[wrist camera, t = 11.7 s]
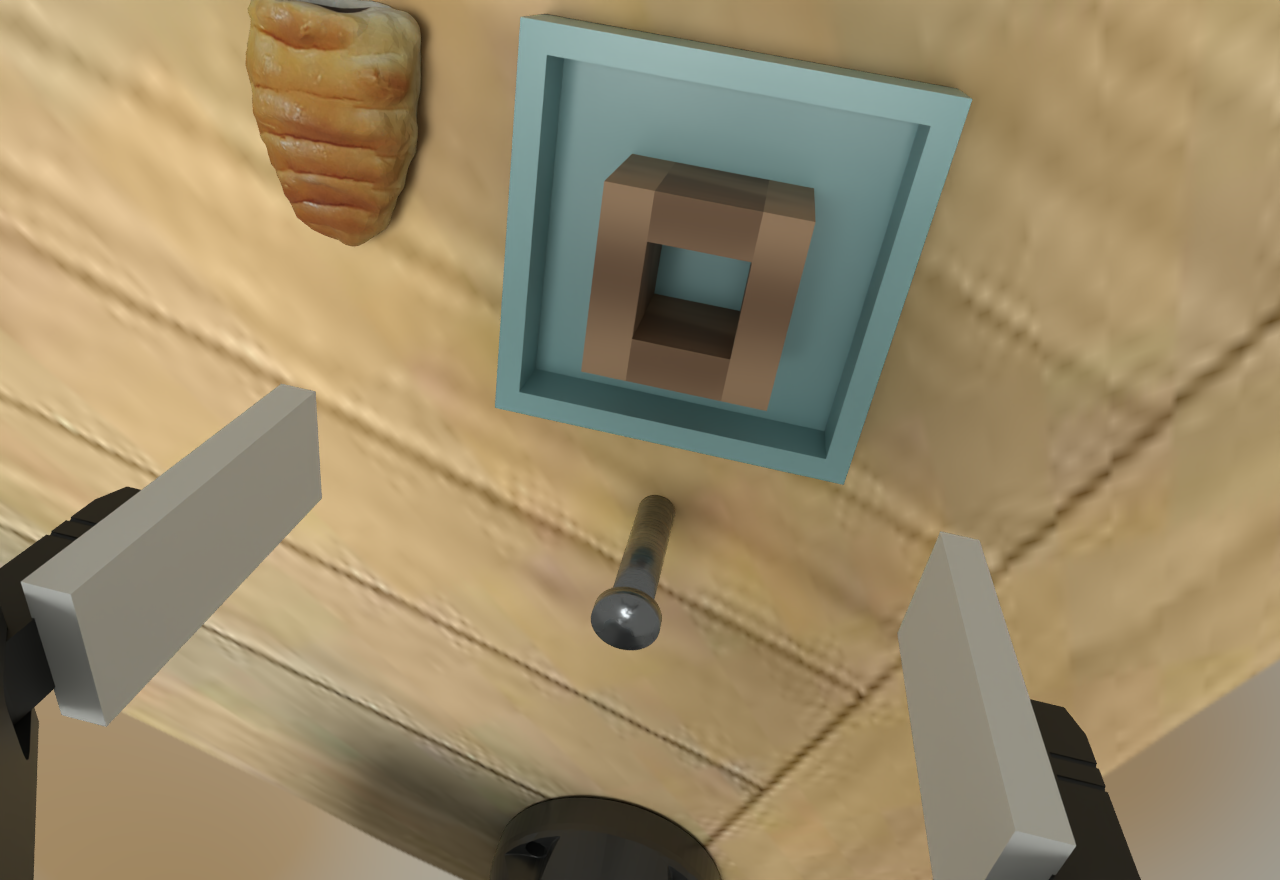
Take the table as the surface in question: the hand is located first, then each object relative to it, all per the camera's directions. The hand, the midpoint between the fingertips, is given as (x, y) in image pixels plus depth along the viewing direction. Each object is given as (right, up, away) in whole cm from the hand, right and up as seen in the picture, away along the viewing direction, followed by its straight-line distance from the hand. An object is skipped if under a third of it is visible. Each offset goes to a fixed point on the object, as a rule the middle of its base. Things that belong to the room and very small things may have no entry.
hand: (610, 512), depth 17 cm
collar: (+3, +9, +15) cm, 18 cm away
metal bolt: (+1, -2, +23) cm, 23 cm away
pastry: (-11, +15, +16) cm, 24 cm away
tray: (+3, +9, +16) cm, 19 cm away
